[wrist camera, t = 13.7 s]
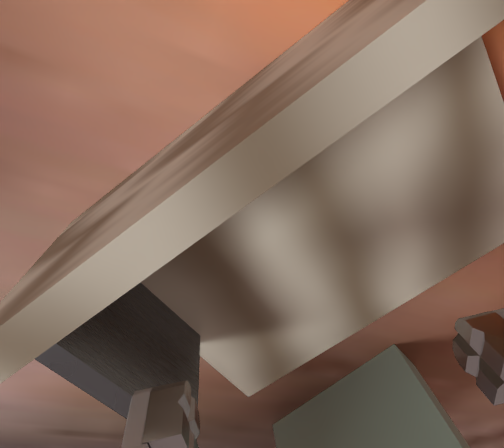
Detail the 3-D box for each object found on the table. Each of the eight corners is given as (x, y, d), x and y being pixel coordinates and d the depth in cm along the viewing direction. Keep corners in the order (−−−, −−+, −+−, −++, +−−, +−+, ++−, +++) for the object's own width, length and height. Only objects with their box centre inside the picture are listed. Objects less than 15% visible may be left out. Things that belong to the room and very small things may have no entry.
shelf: (246, 377, 23) (267, 560, 15) (71, 222, 17) (-68, 377, 9) (520, 208, 20) (756, 317, 11) (422, -58, 14) (765, -260, 5)
